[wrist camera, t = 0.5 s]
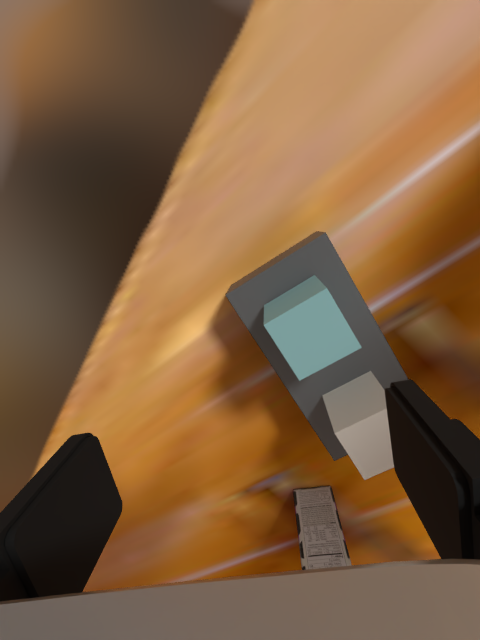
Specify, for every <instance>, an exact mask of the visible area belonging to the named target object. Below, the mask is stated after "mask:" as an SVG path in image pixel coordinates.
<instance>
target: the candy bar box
mask: <svg viewBox="0 0 480 640" xmlns="http://www.w3.org/2000/svg"><path fill="white" fill-rule="evenodd" d="M293 494H294V503H295V513H296V521H297V530H298V539H299V548H300V556H301V565H302V570H307V569H318V568H328V567H339V566H351V561H350V557H349V553H348V550H347V546H346V543H345V539H344V535H343V531H342V527H341V523H340V519H339V515H338V511H337V507H336V504H335V500H334V496H333V492H332V488H331V486H320V487H314V488H304V489H295V490H293Z"/></svg>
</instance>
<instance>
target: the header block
mask: <svg viewBox="0 0 480 640" xmlns="http://www.w3.org/2000/svg"><path fill="white" fill-rule="evenodd" d="M314 275H315V276H316V277H317V278H318V279H319V280H320V281H321V282H322V283H323V284H324V285H325V286H326V287H327V289H328V291H329V292H330V294H331V296H332V297H333V299H334V301H335V303H336V304H337V306H338V308H339V309H340V311H341V313H342V314H343V316H344V318H345V320H346V321H347V323H348V325H349V326H350V328H351V330H352V332H353V333H354V335H355V337H356V338H357V340H358V342H359V344H360V345H361V347H362V348H360V349H358V350H357V351H355V352H353V353H351V354H349V355H347V356H345V357H343V358H341V359H340V360H338V361H336V362H334V363H332V364H330V365H328V366H326V367H325V368H323V369H321V370H319V371H317V372H315V373H313V374H311V375H309V376H308V377H306V378H304V379H302V380H300V381H299V379H298V378H297V376H296V375H295V373H294V371H293V370H292V368H291V367H290V365H289V364H288V362H287V361H286V359H285V358H284V356H283V354H282V353H281V351H280V350H279V348H278V347H277V345H276V344H275V342H274V340H273V339H272V337H271V336H270V334H269V333H268V331H267V330H266V328H265V327H264V305H265V304H267V303H269V302H270V301H272V300H274V299H275V298H277V297H279V296H280V295H282V294H284V293H285V292H287V291H289V290H290V289H292V288H294V287H295V286H297V285H299V284H300V283H302V282H304V281H305V280H307V279H309V278H310V277H312V276H314ZM226 297H227V298H228V300H229V301H230V303H231V304H232V306H233V307H234V309H235V310H236V312H237V314H238V315H239V317H240V318H241V320H242V321H243V323H244V324H245V326H246V327H247V329H248V330H249V332H250V333H251V335H252V336H253V338H254V339H255V341H256V342H257V344H258V345H259V347H260V349H261V350H262V352H263V353H264V355H265V356H266V358H267V359H268V361H269V362H270V364H271V365H272V367H273V368H274V370H275V371H276V373H277V374H278V376H279V377H280V379H281V380H282V382H283V383H284V385H285V387H286V388H287V390H288V391H289V393H290V394H291V396H292V397H293V399H294V400H295V402H296V403H297V405H298V406H299V408H300V409H301V411H302V412H303V414H304V415H305V417H306V418H307V420H308V421H309V423H310V425H311V426H312V428H313V429H314V431H315V432H316V434H317V435H318V437H319V438H320V440H321V441H322V443H323V444H324V446H325V447H326V449H327V450H328V452H329V453H330V455H331V456H332V458H333V460H334V461H335V460H337V459H339V458H342V457H344V456H346V455H349V457H350V458H351V460H352V461H353V463H354V464H355V466H356V467H357V469H358V471H359V472H360V474H361V475H362V477H363V478H364V480H366V479H368V478H371V477H373V476H375V475H377V474H380V473H382V472H384V471H387V470H389V469H391V468H393V467H394V463H393V456H392V448H391V440H390V432H389V424H388V416H387V408H386V400H385V388H390V384H391V382H397V381H403V380H408V378H407V376H406V374H405V373H404V371H403V369H402V367H401V365H400V364H399V362H398V360H397V358H396V357H395V355H394V353H393V351H392V349H391V348H390V346H389V344H388V342H387V341H386V339H385V337H384V335H383V334H382V332H381V330H380V328H379V326H378V325H377V323H376V321H375V319H374V318H373V316H372V314H371V312H370V310H369V309H368V307H367V305H366V303H365V302H364V300H363V298H362V296H361V294H360V293H359V291H358V289H357V287H356V286H355V284H354V282H353V280H352V279H351V277H350V275H349V273H348V271H347V270H346V268H345V266H344V264H343V263H342V261H341V259H340V257H339V255H338V254H337V252H336V250H335V248H334V247H333V245H332V243H331V241H330V240H329V238H328V236H327V234H326V232H319V231H316V232H315V233H313V234H312V235H310V236H308V237H307V238H305V239H304V240H302V241H300V242H299V243H297V244H296V245H294V246H293V247H291V248H289V249H288V250H286V251H285V252H283V253H281V254H280V255H278V256H277V257H275V258H273V259H272V260H270V261H269V262H267V263H266V264H264V265H262V266H261V267H259V268H258V269H256V270H254V271H253V272H251V273H250V274H248V275H246V276H245V277H243V278H242V279H240V280H239V281H237V282H235V283H234V284H232V285H231V286H230V288H229V290H228V291H227V293H226Z"/></svg>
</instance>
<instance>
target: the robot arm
mask: <svg viewBox="0 0 480 640" xmlns="http://www.w3.org/2000/svg"><path fill="white" fill-rule="evenodd" d="M385 400H386V408H387V416H388V424H389V432H390V440H391V448H392V456H393V463H394V468H395V471H396V474H397V476H398V478H399V480H400V482H401V484H402V486H403V488H404V490H405V492H406V493H407V495H408V497H409V499H410V501H411V503H412V505H413V506H414V508H415V510H416V512H417V514H418V516H419V518H420V520H421V521H422V523H423V525H424V527H425V529H426V531H427V533H428V535H429V536H430V538H431V540H432V542H433V544H434V546H435V548H436V549H437V551H438V553H439V555H440V557H441V559H435V560H416V561H398V562H384V563H374V564H364V565H351V566H339V567H328V568H318V569H307V570H297V571H287V572H276V573H266V574H255V575H245V576H235V577H225V578H215V579H205V580H195V581H185V582H175V583H166V584H156V585H147V586H137V587H127V588H118V589H109V590H100V591H90V592H82V591H83V589H84V587H85V585H86V583H87V581H88V579H89V577H90V575H91V573H92V571H93V569H94V567H95V565H96V563H97V561H98V559H99V557H100V555H101V553H102V551H103V549H104V547H105V545H106V543H107V541H108V539H109V537H110V535H111V533H112V531H113V529H114V527H115V525H116V523H117V521H118V519H119V517H120V515H121V512H122V500H121V497H120V495H119V492H118V489H117V487H116V484H115V482H114V479H113V476H112V474H111V471H110V468H109V466H108V463H107V460H106V458H105V455H104V453H103V450H102V447H101V445H100V442H99V440H98V438H97V437H96V436H93V435H92V434H91V433H84V434H78V435H73V436H71V437H70V438H69V439H68V440H67V441H66V442H65V443H64V444H63V445H62V446H61V447H60V448H59V450H58V451H57V452H56V453H55V454H54V455H53V456H52V457H51V458H50V459H49V460H48V462H47V463H46V464H45V465H44V466H43V467H42V468H41V469H40V470H39V471H38V472H37V474H36V475H35V476H34V477H33V478H32V479H31V480H30V481H29V482H28V483H27V484H26V486H25V487H24V488H23V489H22V490H21V491H20V492H19V493H18V494H17V495H16V496H15V498H14V499H13V500H12V501H11V502H10V503H9V504H8V505H7V506H6V507H5V508H4V510H3V511H2V512H1V513H0V640H480V440H479V439H478V438H477V437H476V436H475V435H474V434H473V433H472V432H471V431H470V430H469V429H468V428H467V427H466V426H465V425H464V424H463V423H462V422H461V421H459V420H457V419H451V420H450V419H449V418H448V417H447V416H446V415H445V413H444V412H443V411H442V410H441V409H440V408H439V407H438V406H437V405H436V404H435V403H434V402H433V401H432V400H431V399H430V398H429V397H428V396H427V395H426V394H425V393H424V392H423V391H422V390H421V389H420V388H419V387H418V386H417V385H416V383H415V382H414V381H413V380H411V379H409V380H403V381H397V382H391V384H390V388H385Z"/></svg>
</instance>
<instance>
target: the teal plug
mask: <svg viewBox="0 0 480 640" xmlns="http://www.w3.org/2000/svg"><path fill="white" fill-rule="evenodd" d="M264 327H265V328H266V330H267V331H268V333H269V334H270V336H271V337H272V339H273V340H274V342H275V344H276V345H277V347H278V348H279V350H280V351H281V353H282V354H283V356H284V358H285V359H286V361H287V362H288V364H289V365H290V367H291V368H292V370H293V371H294V373H295V375H296V376H297V378H298V379H299V381H300V380H302V379H304V378H306V377H308V376H309V375H311V374H313V373H315V372H317V371H319V370H321V369H323V368H325V367H326V366H328V365H330V364H332V363H334V362H336V361H338V360H340V359H341V358H343V357H345V356H347V355H349V354H351V353H353V352H355V351H357V350H358V349H360V348H362V347H361V345H360V344H359V342H358V340H357V338H356V337H355V335H354V333H353V332H352V330H351V328H350V326H349V325H348V323H347V321H346V320H345V318H344V316H343V314H342V313H341V311H340V309H339V308H338V306H337V304H336V303H335V301H334V299H333V297H332V296H331V294H330V292H329V291H328V289H327V287H326V286H325V285H324V284H323V283H322V282H321V281H320V280H319V279H318V278H317V277H316V276H315V275H314V276H312V277H310V278H309V279H307V280H305V281H304V282H302V283H300V284H299V285H297V286H295V287H294V288H292V289H290V290H289V291H287V292H285V293H284V294H282V295H280V296H279V297H277V298H275V299H274V300H272V301H270V302H269V303H267V304H265V305H264Z"/></svg>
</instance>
